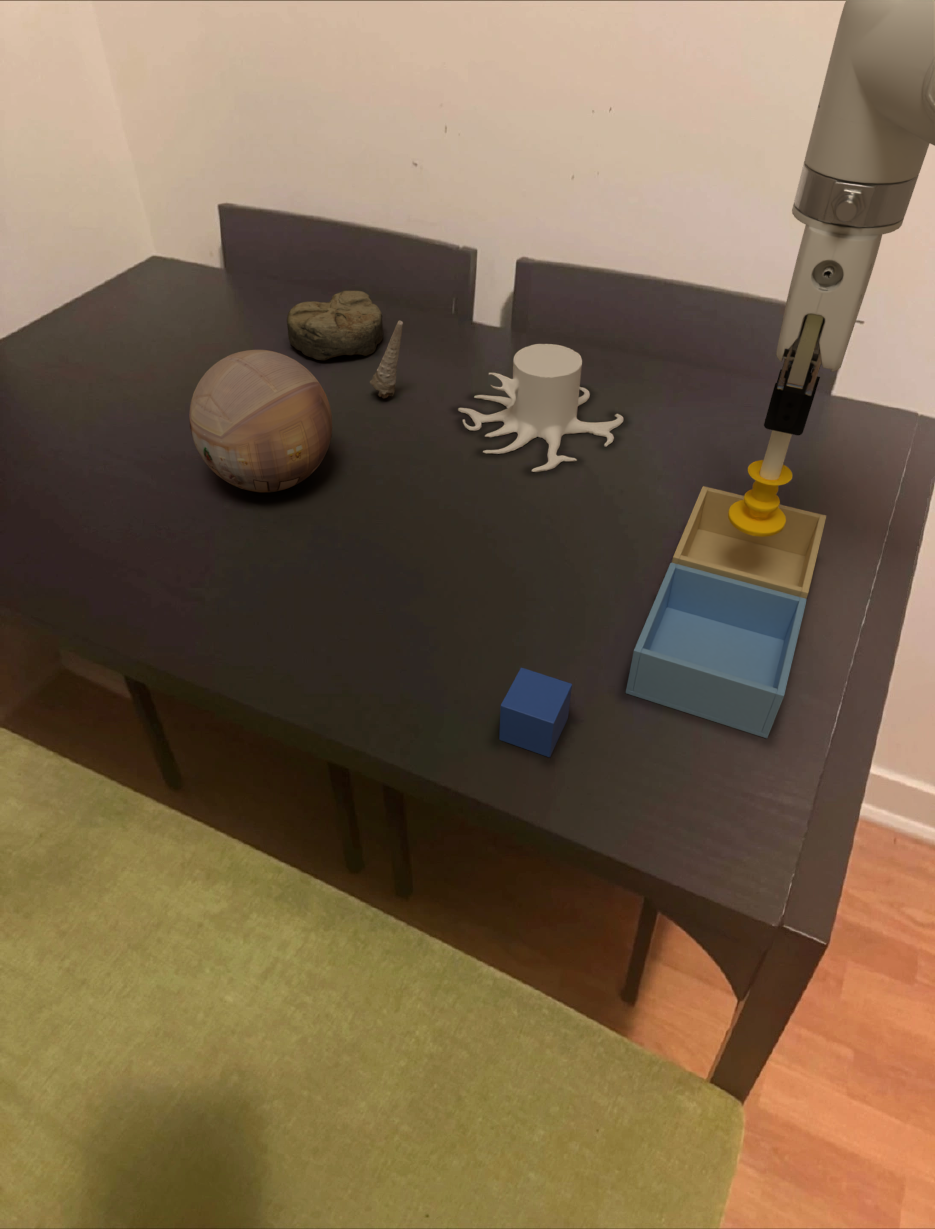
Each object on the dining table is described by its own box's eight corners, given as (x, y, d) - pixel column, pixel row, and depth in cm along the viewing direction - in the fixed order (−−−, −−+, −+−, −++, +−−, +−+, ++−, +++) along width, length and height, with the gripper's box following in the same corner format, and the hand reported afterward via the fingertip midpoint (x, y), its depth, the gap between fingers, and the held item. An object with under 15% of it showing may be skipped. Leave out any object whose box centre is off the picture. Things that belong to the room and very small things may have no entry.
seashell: (376, 390, 112) (369, 308, 104) (413, 397, 110) (408, 314, 103) (366, 401, 110) (358, 319, 102) (403, 409, 108) (398, 325, 101)
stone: (278, 333, 123) (272, 298, 119) (364, 314, 127) (361, 279, 123) (307, 375, 115) (301, 338, 111) (398, 353, 119) (396, 316, 115)
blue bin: (790, 642, 79) (807, 598, 75) (767, 738, 71) (784, 696, 67) (661, 605, 82) (670, 561, 79) (625, 693, 74) (633, 650, 71)
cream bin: (810, 558, 87) (826, 515, 84) (792, 636, 79) (808, 593, 76) (693, 527, 91) (702, 485, 87) (663, 599, 83) (672, 556, 79)
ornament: (332, 436, 104) (317, 318, 93) (345, 510, 93) (330, 386, 83) (206, 450, 102) (176, 331, 91) (205, 528, 91) (171, 403, 81)
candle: (796, 527, 79) (848, 374, 68) (752, 543, 78) (798, 389, 67) (759, 497, 83) (803, 346, 72) (716, 511, 81) (754, 360, 70)
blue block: (568, 718, 73) (572, 683, 69) (549, 758, 70) (553, 723, 66) (518, 701, 74) (521, 666, 71) (499, 740, 71) (500, 705, 68)
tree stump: (445, 394, 111) (444, 335, 105) (583, 371, 115) (589, 313, 109) (496, 480, 97) (497, 418, 91) (650, 451, 101) (661, 389, 96)
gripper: (900, 243, 54) (817, 483, 67) (916, 168, 64) (841, 389, 77) (779, 225, 56) (721, 461, 69) (813, 155, 66) (757, 372, 79)
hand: (785, 422), depth 73 cm, fingers closed on candle
